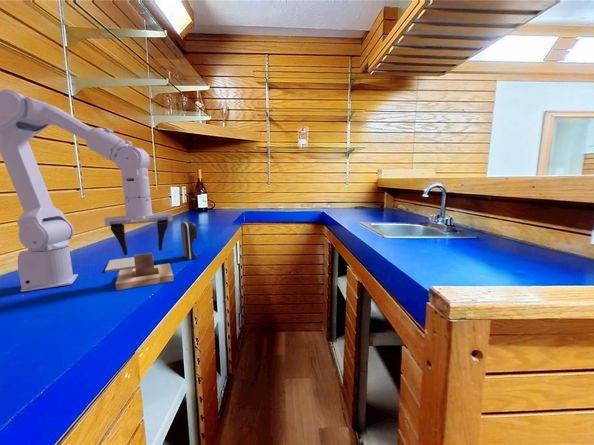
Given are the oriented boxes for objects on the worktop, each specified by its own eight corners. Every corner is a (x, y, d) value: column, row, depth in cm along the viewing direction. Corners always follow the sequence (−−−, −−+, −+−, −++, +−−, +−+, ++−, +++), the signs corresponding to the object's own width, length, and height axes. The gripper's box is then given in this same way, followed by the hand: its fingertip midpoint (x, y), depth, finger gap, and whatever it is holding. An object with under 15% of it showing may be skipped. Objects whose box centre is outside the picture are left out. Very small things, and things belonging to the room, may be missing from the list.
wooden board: (116, 290, 67) (115, 284, 67) (120, 275, 77) (119, 270, 77) (173, 280, 72) (173, 275, 72) (170, 268, 83) (169, 263, 82)
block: (136, 282, 72) (134, 258, 71) (137, 277, 76) (134, 254, 75) (155, 279, 74) (152, 256, 73) (154, 275, 77) (152, 252, 77)
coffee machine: (200, 258, 93) (197, 222, 91) (187, 260, 91) (184, 223, 89) (195, 254, 99) (192, 220, 97) (183, 256, 97) (180, 221, 95)
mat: (105, 272, 81) (104, 270, 81) (110, 262, 92) (109, 260, 91) (153, 265, 86) (153, 263, 86) (152, 256, 97) (152, 254, 97)
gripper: (99, 200, 65) (107, 259, 67) (171, 196, 71) (176, 251, 73) (103, 198, 71) (110, 253, 73) (169, 195, 78) (173, 246, 80)
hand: (143, 252), depth 74 cm, fingers open, 7 cm apart
